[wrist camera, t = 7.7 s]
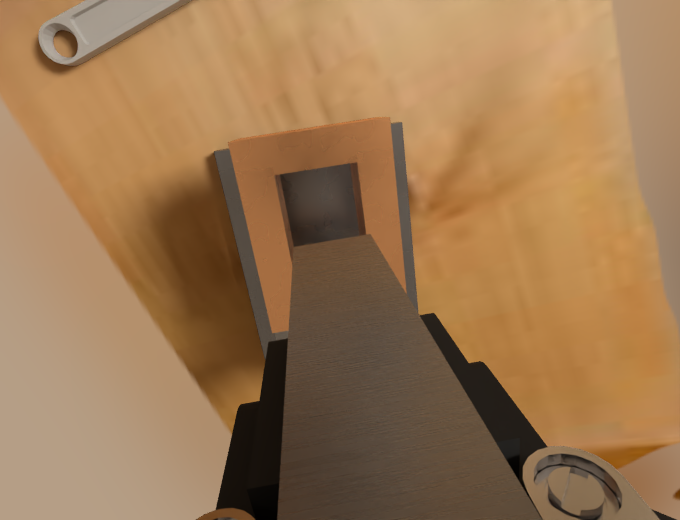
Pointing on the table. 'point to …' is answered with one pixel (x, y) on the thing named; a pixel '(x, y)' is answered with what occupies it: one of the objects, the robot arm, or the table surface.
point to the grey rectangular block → (378, 405)
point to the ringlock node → (314, 204)
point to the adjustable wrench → (102, 25)
